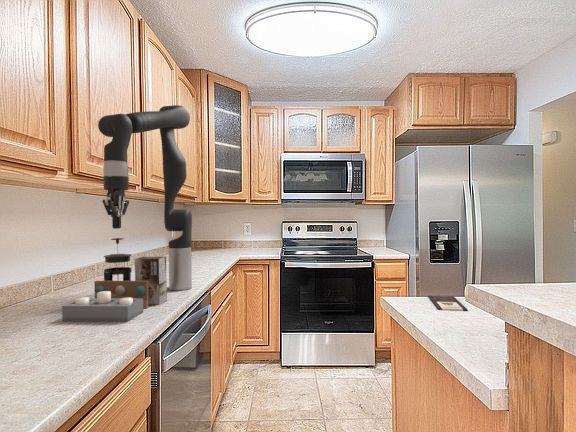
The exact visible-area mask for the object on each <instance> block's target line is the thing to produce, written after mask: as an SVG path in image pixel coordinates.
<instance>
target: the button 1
mask: <svg viewBox="0 0 576 432" xmlns="http://www.w3.org/2000/svg"><path fill="white" fill-rule="evenodd" d="M89 298H90V297H88V296H82V297H76V298H75V299H74V301H75V304H86V303H88V302H89Z"/></svg>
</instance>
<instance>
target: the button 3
mask: <svg viewBox="0 0 576 432" xmlns="http://www.w3.org/2000/svg"><path fill="white" fill-rule="evenodd" d="M131 303H133V298H131V297H127V298H121V299H119V304H131Z"/></svg>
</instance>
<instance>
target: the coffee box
mask: <svg viewBox="0 0 576 432" xmlns="http://www.w3.org/2000/svg"><path fill="white" fill-rule="evenodd" d="M134 281H148V305H161V304H163V303H165V302H167V300H168V295H167V294H168V293H167V291H168V290H167V289H168V287H167V256H141V257H137V258H135V259H134Z"/></svg>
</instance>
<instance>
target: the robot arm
mask: <svg viewBox="0 0 576 432" xmlns="http://www.w3.org/2000/svg"><path fill="white" fill-rule="evenodd" d="M190 121H191V115H190V112H189V110H188V109H187V108H186V107H185V106H183V105H180V104H179V105H178V104H176V105H175V104H174V105H164V106H161V108H159V110H157V111H156V110H155V111H153V110H152V111H149V110H148V111H135V112H130V113H126V114H124V113H116V114H115V113H114V114H107V115H104V116H102V117H101V118H100V119H99V120H98V123H97V127H98V130H99V132H100V133H101V135H103V136H105V137H108V138H112V139H111V141H109V142H108V143H106V144H104V147H103V168H102V169H103V170H102V171H103V173H102V174H103V190H104V191H107V192H106V199H102V203H103V206H104V209H105V211H106V213H107V216H110V217H111V219H112V223H111V224H112V229H115V230H117V229H121V228H122V217H123V216H125V215H126V212H127V209H128V208H129V204H130V200H128V199H126V193H125V191H129V189H130V188H129V184H130V182H129V181H130V180H129V179H130V178H129V176H130V175H129V164H128V150H129V145H130V143H131V142H130V141H131V138H132V134H140V133H146V132H150V131H155V130H159V132H160V133H159V134H160V140H161V150H162V151H161V153H162V154H161V155H162V175H163V186H164V187H163V189H164V211H163V217H164V219H163V220H164V221H163V222H164V228H165V231H167V232H182V234H181V235H180V236H179V237H176V238H173V239H171V240H169V241H168V289H169V290H170V291H186V290H190V289H192V287H193V283H192V280H193V277H192V276H193V275H192V267H193V266H192V228H193V226H192V225H193V214H192V211H191V210H190V209H187V208H185V209H183V208H181V209H178V208H174V206H175V202H176V201H175V200H176V198H177V196H178V193H180V191H181V189H182V187H183V185H184V184H185V182H186V180H187V162H186V159H185V157H184V155H183V153H182V152H181V150H180V148H179V147H178V144H177V142H176V138H175V137H176V136H175V130H180V129H184V128H187V126H189V124H190Z"/></svg>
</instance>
